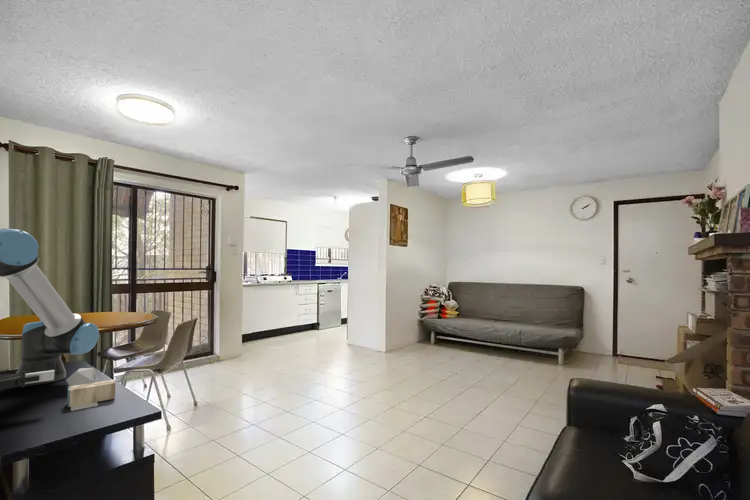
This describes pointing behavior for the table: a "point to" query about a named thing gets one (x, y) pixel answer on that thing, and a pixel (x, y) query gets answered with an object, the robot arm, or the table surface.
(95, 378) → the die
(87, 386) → the block
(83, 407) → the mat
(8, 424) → the table surface
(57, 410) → the table surface
